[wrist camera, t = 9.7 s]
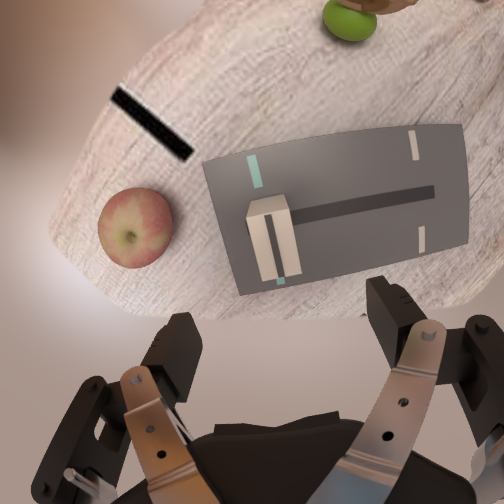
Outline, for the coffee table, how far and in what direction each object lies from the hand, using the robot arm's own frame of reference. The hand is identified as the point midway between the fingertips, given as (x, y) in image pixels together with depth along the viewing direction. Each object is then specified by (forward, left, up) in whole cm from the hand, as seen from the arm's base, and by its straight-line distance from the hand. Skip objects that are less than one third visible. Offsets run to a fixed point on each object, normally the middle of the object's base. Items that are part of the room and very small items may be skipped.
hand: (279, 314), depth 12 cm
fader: (0, 0, -14) cm, 14 cm away
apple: (+13, -3, -18) cm, 22 cm away
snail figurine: (-13, -19, -18) cm, 29 cm away
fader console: (-9, 0, -18) cm, 20 cm away
